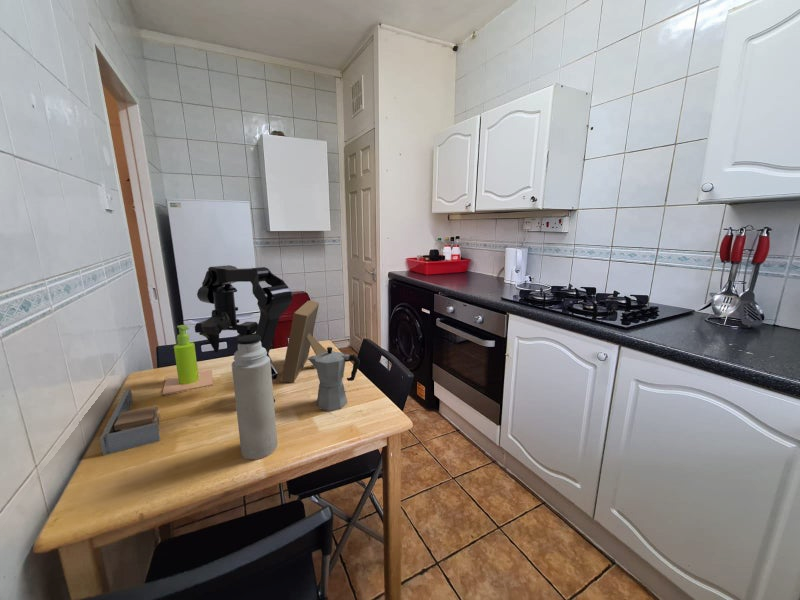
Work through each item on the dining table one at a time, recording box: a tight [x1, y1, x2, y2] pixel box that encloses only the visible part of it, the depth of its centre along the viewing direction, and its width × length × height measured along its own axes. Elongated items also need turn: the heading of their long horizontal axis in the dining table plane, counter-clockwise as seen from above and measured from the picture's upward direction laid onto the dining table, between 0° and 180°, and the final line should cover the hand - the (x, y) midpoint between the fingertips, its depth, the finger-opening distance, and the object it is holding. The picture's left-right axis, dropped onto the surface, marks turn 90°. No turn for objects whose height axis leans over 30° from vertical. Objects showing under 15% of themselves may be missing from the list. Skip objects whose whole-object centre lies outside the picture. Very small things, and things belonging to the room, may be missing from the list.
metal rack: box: [99, 388, 161, 456], centre depth 88 cm, size 28×11×4 cm, turn 31°
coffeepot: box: [307, 346, 361, 412], centre depth 96 cm, size 15×9×18 cm, turn 90°
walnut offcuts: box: [114, 405, 162, 431], centre depth 85 cm, size 8×8×4 cm
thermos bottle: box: [231, 334, 278, 460], centre depth 74 cm, size 8×8×28 cm
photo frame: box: [280, 300, 328, 384], centre depth 120 cm, size 15×22×25 cm
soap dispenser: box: [173, 324, 199, 384], centre depth 110 cm, size 6×7×20 cm
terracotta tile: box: [161, 369, 214, 397], centre depth 112 cm, size 14×14×1 cm
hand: (229, 352), depth 104 cm, fingers open, 9 cm apart
